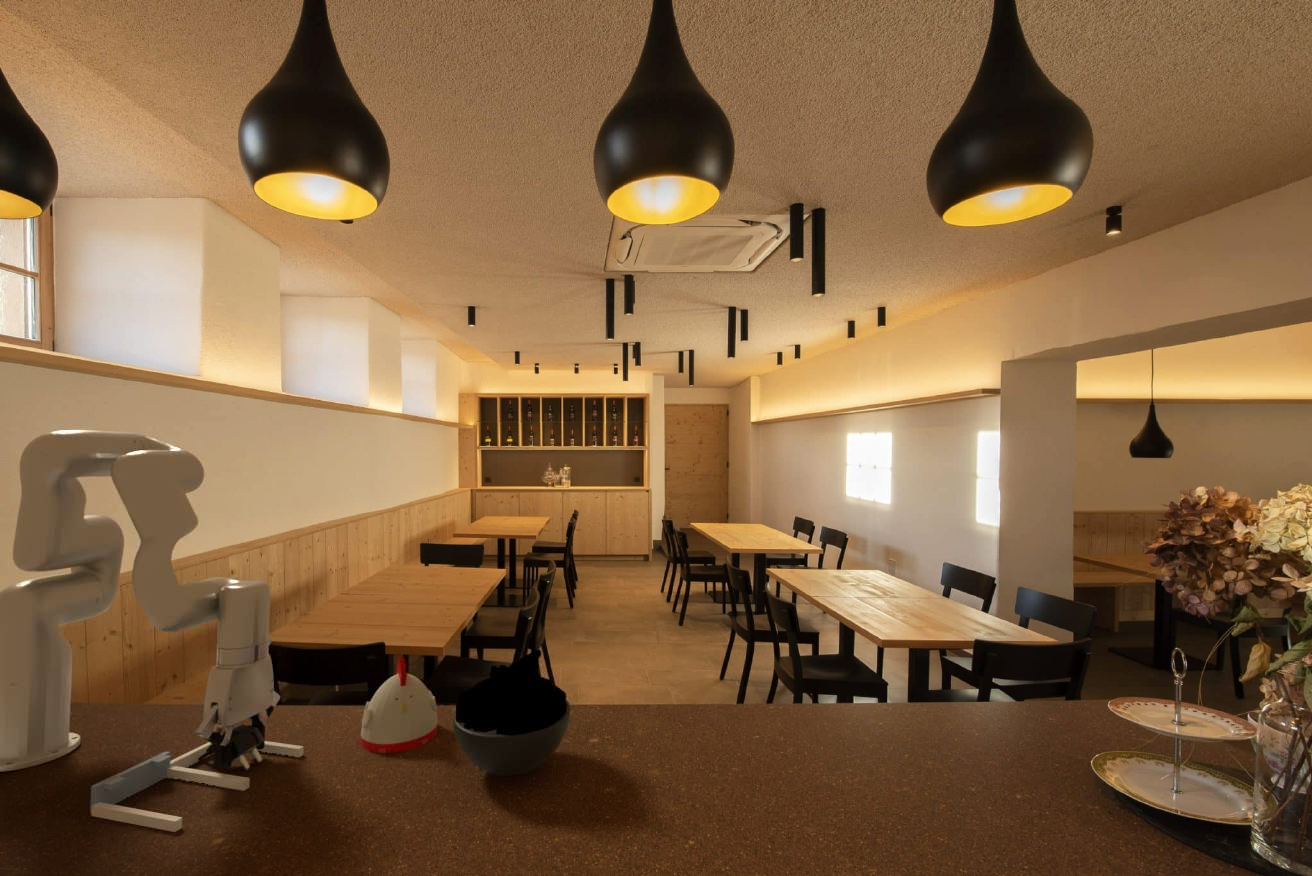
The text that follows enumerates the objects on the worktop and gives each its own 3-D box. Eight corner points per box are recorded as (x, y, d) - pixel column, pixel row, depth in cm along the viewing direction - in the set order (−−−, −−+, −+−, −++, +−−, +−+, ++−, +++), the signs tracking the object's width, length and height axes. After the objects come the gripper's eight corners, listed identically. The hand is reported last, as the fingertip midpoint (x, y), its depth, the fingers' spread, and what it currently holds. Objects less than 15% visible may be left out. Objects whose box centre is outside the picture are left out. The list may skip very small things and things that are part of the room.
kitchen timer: (362, 760, 107) (365, 675, 107) (357, 729, 119) (359, 653, 119) (443, 742, 114) (445, 663, 114) (431, 714, 126) (432, 643, 126)
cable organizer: (86, 814, 90) (87, 788, 90) (227, 743, 112) (228, 722, 112) (175, 832, 86) (175, 804, 86) (303, 754, 108) (303, 732, 108)
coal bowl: (481, 817, 90) (483, 691, 91) (435, 763, 106) (437, 656, 106) (591, 773, 103) (593, 663, 104) (536, 731, 118) (537, 636, 119)
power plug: (212, 747, 109) (258, 712, 107) (232, 784, 108) (279, 749, 106) (182, 762, 103) (230, 726, 102) (202, 801, 102) (251, 765, 100)
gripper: (267, 637, 114) (264, 732, 113) (176, 667, 97) (172, 780, 97) (300, 640, 112) (297, 737, 112) (213, 672, 96) (209, 786, 95)
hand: (239, 756), depth 104 cm, fingers closed on power plug, 5 cm apart
